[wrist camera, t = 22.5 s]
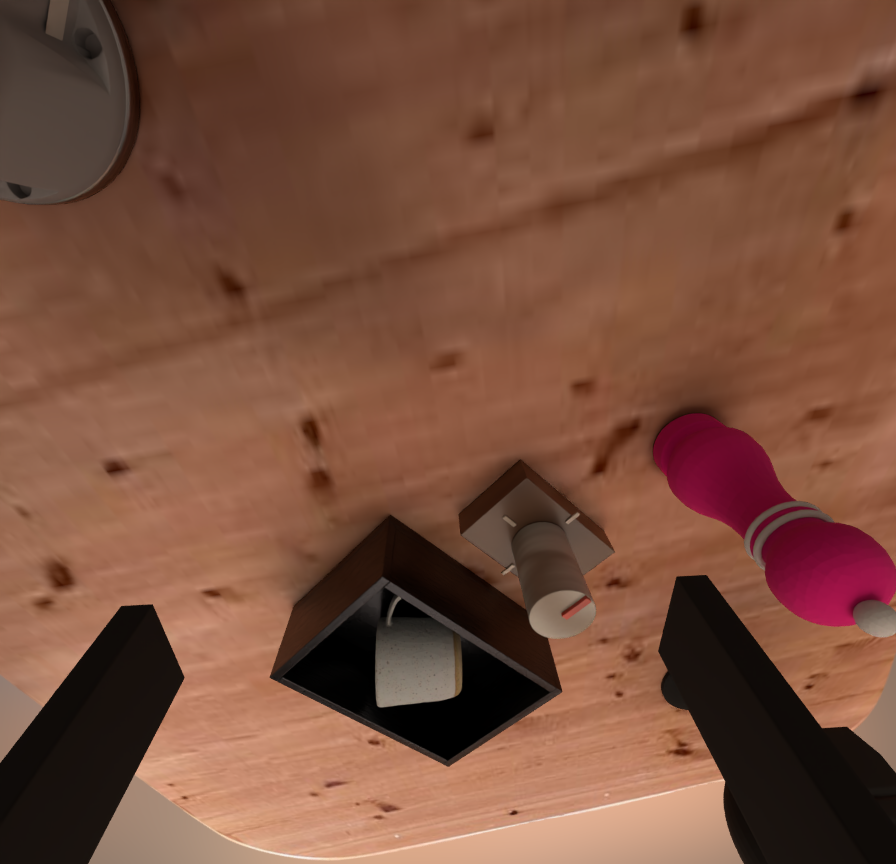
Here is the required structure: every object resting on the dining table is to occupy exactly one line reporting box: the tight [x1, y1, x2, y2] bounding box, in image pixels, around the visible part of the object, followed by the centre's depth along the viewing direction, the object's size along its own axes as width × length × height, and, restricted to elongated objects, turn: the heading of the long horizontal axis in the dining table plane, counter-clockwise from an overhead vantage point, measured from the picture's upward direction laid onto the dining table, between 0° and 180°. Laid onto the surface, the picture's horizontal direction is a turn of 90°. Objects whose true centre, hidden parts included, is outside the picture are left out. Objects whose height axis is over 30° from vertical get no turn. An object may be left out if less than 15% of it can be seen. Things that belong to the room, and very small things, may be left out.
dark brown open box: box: [270, 515, 562, 767], centre depth 45 cm, size 22×16×8 cm
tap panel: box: [459, 460, 615, 578], centre depth 42 cm, size 12×9×3 cm
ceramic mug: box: [375, 594, 462, 707], centre depth 44 cm, size 11×8×8 cm
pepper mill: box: [653, 413, 896, 637], centre depth 32 cm, size 7×7×20 cm
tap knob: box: [512, 522, 596, 639], centre depth 37 cm, size 5×5×8 cm
